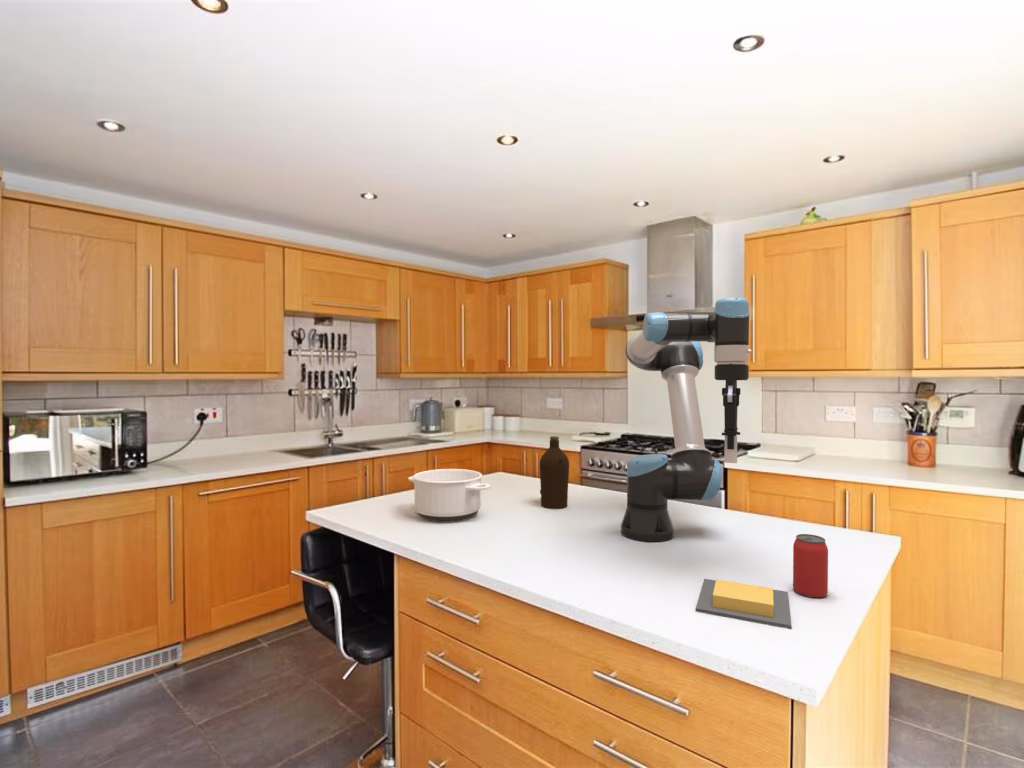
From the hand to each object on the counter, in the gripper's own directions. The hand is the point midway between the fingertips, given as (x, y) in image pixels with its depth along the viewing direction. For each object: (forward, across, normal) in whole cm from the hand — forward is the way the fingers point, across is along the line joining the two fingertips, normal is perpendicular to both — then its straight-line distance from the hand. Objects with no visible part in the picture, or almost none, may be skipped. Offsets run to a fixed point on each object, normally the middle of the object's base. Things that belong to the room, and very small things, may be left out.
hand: (730, 462), depth 126 cm
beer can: (+27, -5, -16) cm, 32 cm away
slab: (+25, -14, -4) cm, 29 cm away
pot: (+27, +15, +89) cm, 94 cm away
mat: (+26, -17, -4) cm, 32 cm away
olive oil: (+27, +42, +61) cm, 79 cm away
